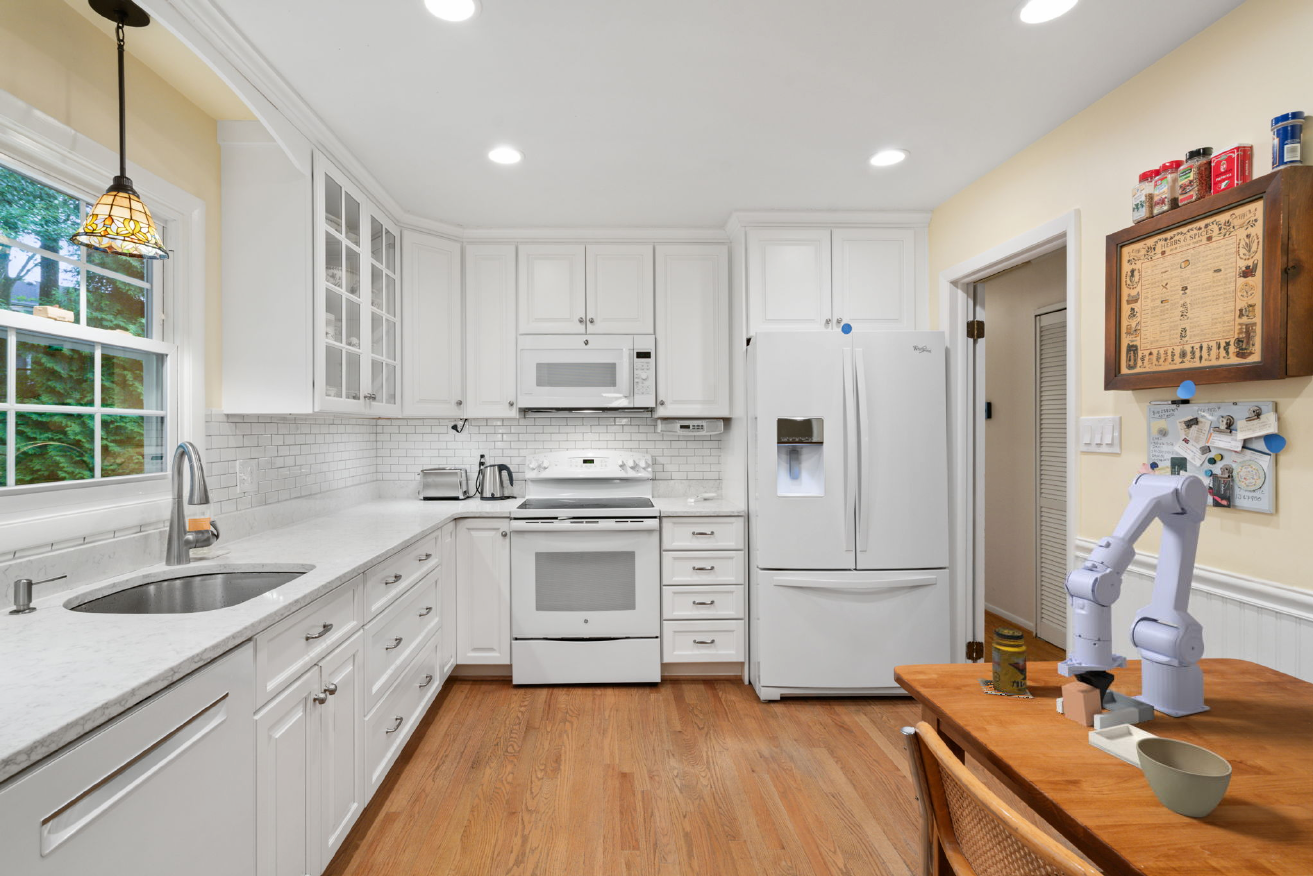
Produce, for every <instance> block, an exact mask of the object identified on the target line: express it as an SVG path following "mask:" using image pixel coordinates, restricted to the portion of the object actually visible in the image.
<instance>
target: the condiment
mask: <svg viewBox="0 0 1313 876" xmlns="http://www.w3.org/2000/svg"><path fill="white" fill-rule="evenodd" d="M1024 638H1025V636H1024V633H1023V632H1022V631H1020V630H1019V629H1015V628H1008V627H998V628H995V629H994V630H993V641H992V643H991V657H992V658H991V662H992V666H991V667H992V671H991V672H992V674H991V675H992V679H984V678H977V681H978V683H979V685H980V686H981V689H982V691H983V692H984V693H985V692H988V693H987V694H991V695H998V696H999V695H1000V694H1002V693H1003V694H1002V695H1003V696H1006V695H1005V694H1009V695H1027V694H1028V695H1029V698H1028V699H1034V697H1033V695H1032V694H1031V693H1030V692H1029V690H1028V689H1027V686H1028V685H1027V684H1028V683H1027V681H1028V680H1027V677H1028V676H1027V671H1028V670H1027V647H1026V646H1025V645H1024V643H1025V641H1024ZM988 683H990V684H988ZM991 683H993V684H991ZM989 685H993V688H994V690H997V691H996V692H1002V693H995V691H994V690H993V691H986V689H985V688H986V687H982V686H989ZM983 688H984V689H983ZM989 688H992V687H989ZM984 690H985V691H984ZM987 690H990V689H987ZM1026 690H1027V691H1026ZM991 692H992V693H991ZM1028 695H1027V696H1019V697H1018V696H1013V697H1014V698H1015V697H1017V698H1023V697H1024V698H1026V697H1028ZM1000 696H1001V695H1000ZM1026 699H1027V698H1026Z"/></svg>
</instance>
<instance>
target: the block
mask: <svg viewBox="0 0 1313 876" xmlns="http://www.w3.org/2000/svg"><path fill="white" fill-rule="evenodd" d="M1061 695H1062V698H1063V704H1064V713H1063V714H1064V718H1066V717H1067V718H1066V719H1069V720H1071V721H1073V720H1074V721H1073V722H1075V721H1076V723H1077V722H1078V724H1079V723H1080V725H1082V726H1084V727H1086V726H1088V727H1092V726H1094V715H1096V714H1101V713H1103V712H1102V710H1103V708H1102V709H1101V700H1100V691H1099V689H1097V688H1095V687H1092V686H1090V685H1087V684H1085V683H1082V682H1079V681H1077V680H1075V681H1073V682H1069V683H1067V684H1064V685H1062V686H1061Z"/></svg>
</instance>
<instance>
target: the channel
mask: <svg viewBox="0 0 1313 876" xmlns="http://www.w3.org/2000/svg"><path fill="white" fill-rule="evenodd" d="M1057 711H1058V712H1057ZM1056 712H1057V713H1059V712H1060V713H1059V714H1061V713H1063V714H1065V713H1064V704H1063V697H1059V698H1058V697H1057V698H1056ZM1123 724H1129V725H1135V724H1139V715H1138V709H1136V708H1134V707H1130V708H1125V709H1121V710H1116V711H1107V712H1102V713H1101V714H1096V715H1094V725H1093V729H1094V730H1099V729H1104V728H1109V727H1113V726H1118V725H1123Z"/></svg>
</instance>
